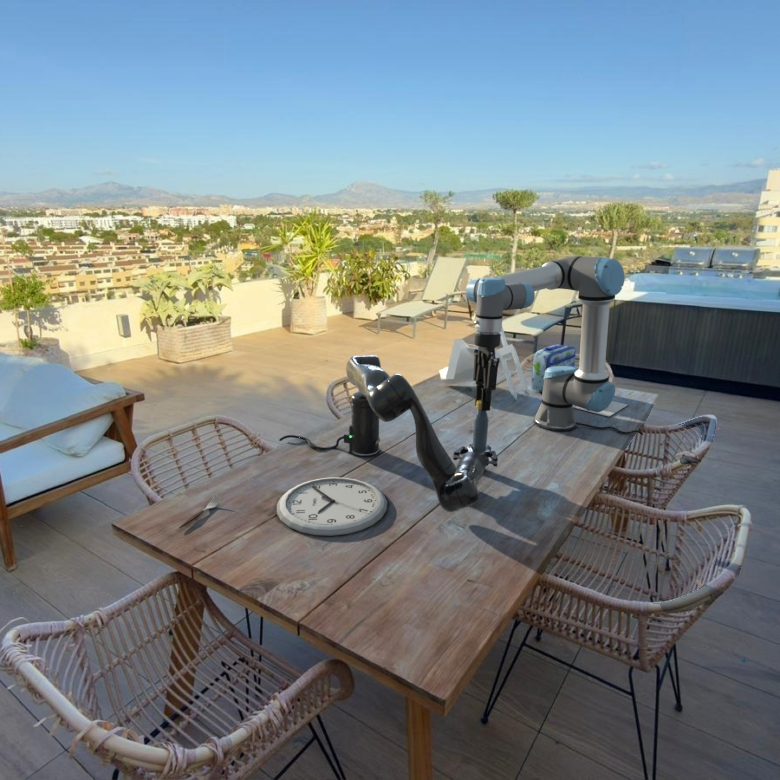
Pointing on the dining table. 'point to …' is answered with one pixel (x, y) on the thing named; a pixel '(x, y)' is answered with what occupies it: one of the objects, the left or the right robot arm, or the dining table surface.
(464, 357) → the white plastic object
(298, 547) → the dining table surface
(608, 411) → the invitation card
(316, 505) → the wall clock
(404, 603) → the dining table surface
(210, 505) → the fork
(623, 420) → the dining table surface
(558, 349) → the lunch box
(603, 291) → the right robot arm
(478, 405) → the cap
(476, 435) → the bottle
